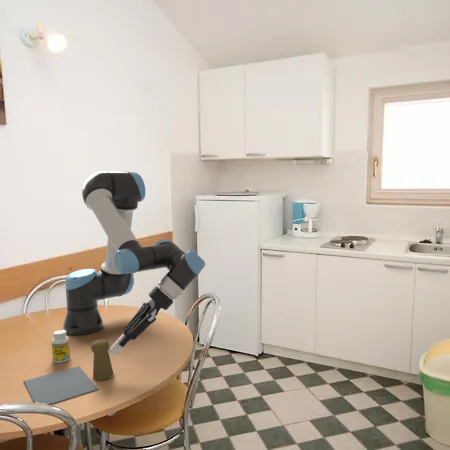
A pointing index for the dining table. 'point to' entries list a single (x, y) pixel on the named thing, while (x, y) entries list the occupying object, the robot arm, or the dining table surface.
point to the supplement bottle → (60, 347)
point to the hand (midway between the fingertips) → (112, 352)
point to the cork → (101, 360)
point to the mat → (60, 386)
